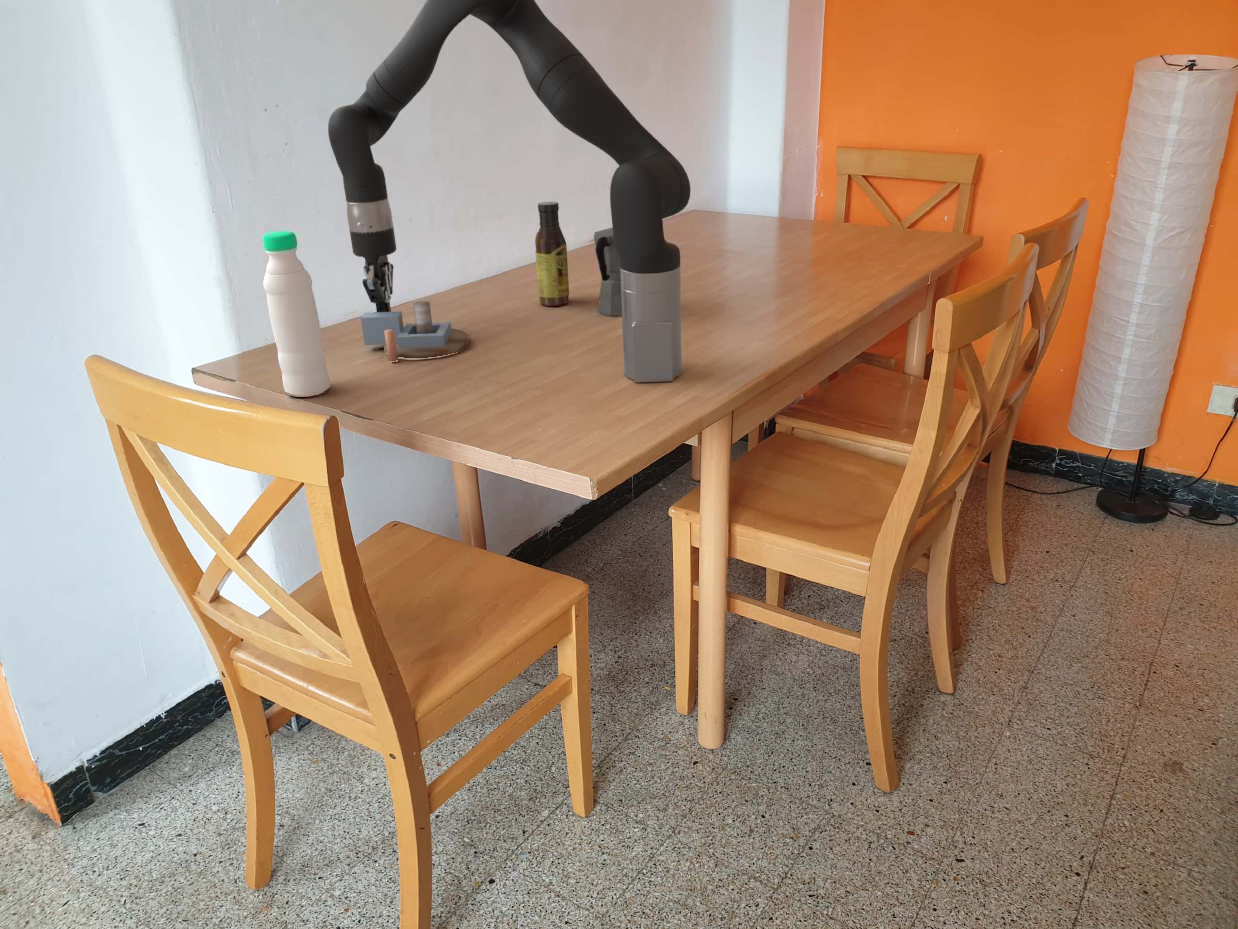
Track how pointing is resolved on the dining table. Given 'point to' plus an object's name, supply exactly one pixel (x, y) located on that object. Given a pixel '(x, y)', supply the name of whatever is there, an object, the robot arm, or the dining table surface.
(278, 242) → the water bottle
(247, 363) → the dining table surface
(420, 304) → the post stand
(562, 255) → the sauce bottle
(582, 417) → the dining table surface
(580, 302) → the dining table surface
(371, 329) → the blue-grey block with frame
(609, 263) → the coffeepot
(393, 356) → the dowel
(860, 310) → the dining table surface
